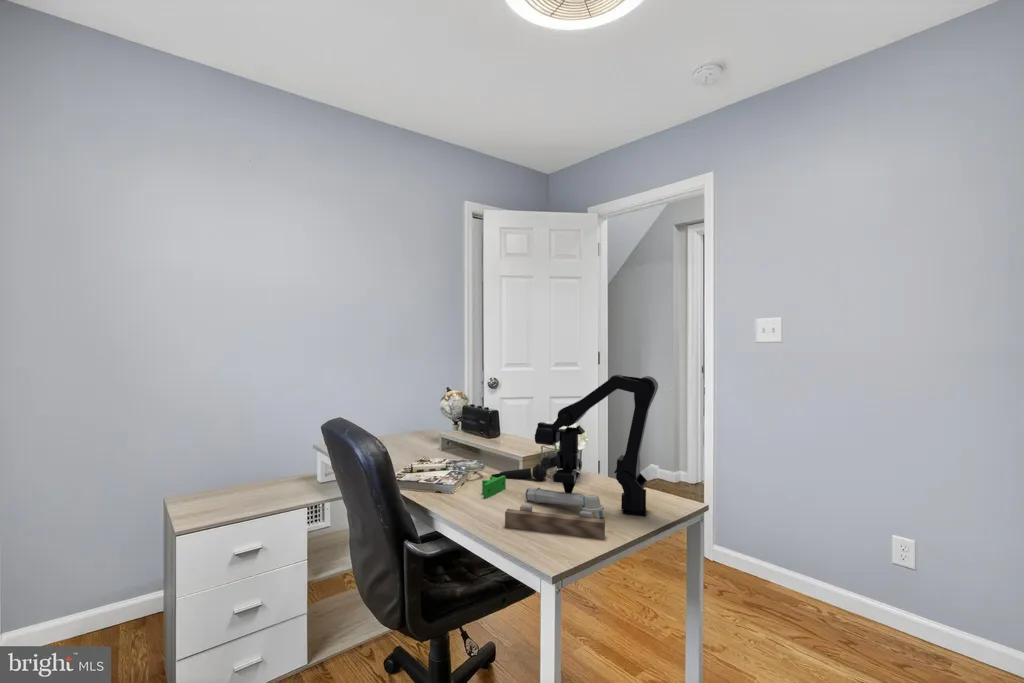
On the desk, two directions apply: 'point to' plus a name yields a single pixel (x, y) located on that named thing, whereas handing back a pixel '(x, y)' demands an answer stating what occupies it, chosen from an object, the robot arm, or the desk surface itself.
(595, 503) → the grey elongated rounded piece
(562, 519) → the rail
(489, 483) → the pipe clamp
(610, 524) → the desk surface
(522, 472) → the microphone
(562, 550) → the desk surface
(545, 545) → the desk surface
